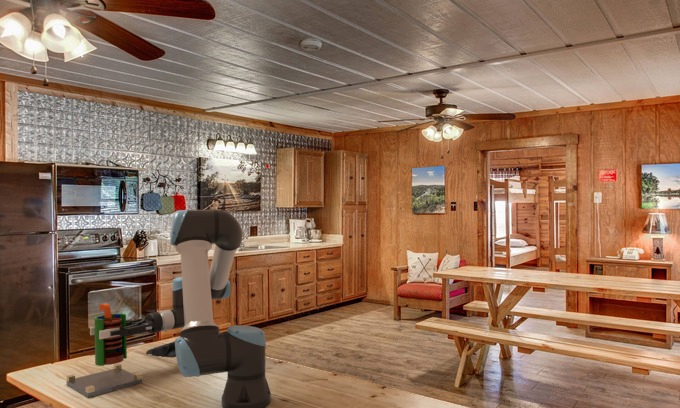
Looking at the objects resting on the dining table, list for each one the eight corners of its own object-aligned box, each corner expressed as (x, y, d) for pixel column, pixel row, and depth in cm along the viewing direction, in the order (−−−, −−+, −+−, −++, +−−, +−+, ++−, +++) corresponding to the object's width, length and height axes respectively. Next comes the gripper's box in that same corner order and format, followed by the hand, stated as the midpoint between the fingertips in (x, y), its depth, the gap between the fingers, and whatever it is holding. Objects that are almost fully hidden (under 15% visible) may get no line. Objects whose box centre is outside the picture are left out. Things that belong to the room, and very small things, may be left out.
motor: (111, 366, 163) (109, 306, 163) (88, 365, 165) (86, 306, 165) (130, 357, 173) (128, 301, 173) (108, 357, 175) (107, 301, 175)
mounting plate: (142, 382, 168) (142, 374, 168) (88, 398, 154) (88, 388, 154) (118, 371, 180) (119, 363, 180) (66, 384, 166) (66, 376, 166)
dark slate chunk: (205, 345, 216) (205, 334, 217) (171, 359, 196) (171, 347, 196) (177, 342, 222) (177, 331, 222) (141, 355, 202) (141, 344, 202)
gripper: (172, 336, 175) (107, 349, 158) (146, 327, 189) (83, 339, 172) (172, 315, 175) (107, 326, 158) (146, 308, 189) (83, 317, 172)
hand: (95, 333), depth 165 cm, fingers closed on motor, 7 cm apart
